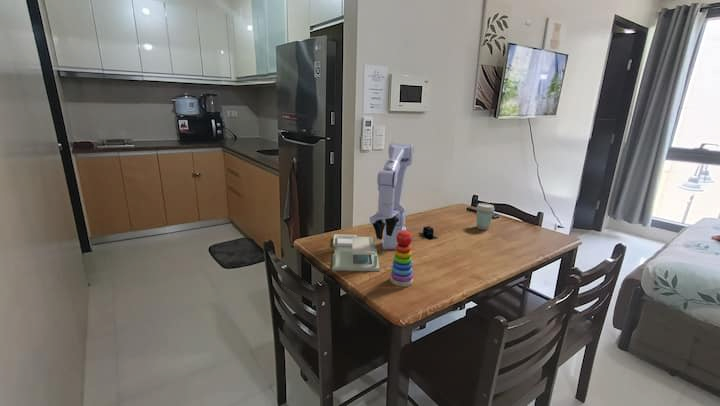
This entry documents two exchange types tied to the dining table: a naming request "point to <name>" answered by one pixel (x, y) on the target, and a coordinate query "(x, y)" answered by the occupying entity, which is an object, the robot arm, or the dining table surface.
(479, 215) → the coffee cup
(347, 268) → the puzzle board
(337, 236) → the dish
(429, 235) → the black box
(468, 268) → the dining table surface
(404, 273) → the stacking toy
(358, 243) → the cover
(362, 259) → the block
